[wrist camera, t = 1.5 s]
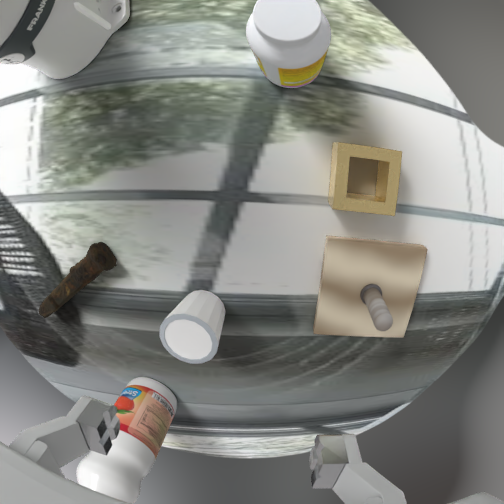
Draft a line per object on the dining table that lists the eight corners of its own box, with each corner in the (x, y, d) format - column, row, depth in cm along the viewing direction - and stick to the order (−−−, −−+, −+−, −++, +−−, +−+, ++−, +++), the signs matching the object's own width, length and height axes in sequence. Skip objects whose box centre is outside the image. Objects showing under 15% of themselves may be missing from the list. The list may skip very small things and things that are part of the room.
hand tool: (105, 236, 38) (85, 247, 33) (121, 261, 38) (103, 275, 34) (43, 291, 43) (27, 303, 39) (56, 311, 44) (40, 324, 39)
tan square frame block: (332, 142, 30) (338, 142, 26) (389, 150, 29) (401, 151, 26) (328, 201, 32) (332, 209, 28) (383, 207, 32) (394, 215, 28)
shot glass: (186, 276, 37) (166, 303, 31) (238, 299, 38) (226, 330, 31) (173, 318, 40) (153, 348, 33) (220, 339, 40) (207, 372, 34)
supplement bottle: (333, 56, 27) (355, 9, 15) (299, 101, 29) (302, 73, 17) (281, 24, 26) (273, -35, 14) (246, 67, 28) (219, 25, 16)
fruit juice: (168, 420, 48) (113, 546, 22) (123, 394, 48) (52, 513, 22) (187, 395, 45) (125, 545, 19) (136, 366, 44) (49, 504, 18)
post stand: (326, 235, 33) (335, 264, 26) (422, 245, 32) (454, 273, 24) (313, 327, 38) (316, 371, 30) (400, 331, 36) (419, 372, 28)
